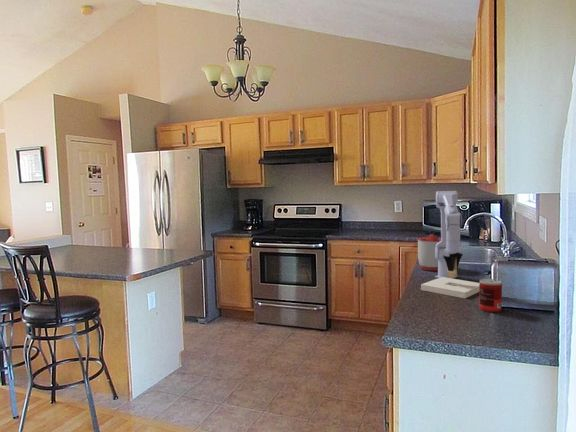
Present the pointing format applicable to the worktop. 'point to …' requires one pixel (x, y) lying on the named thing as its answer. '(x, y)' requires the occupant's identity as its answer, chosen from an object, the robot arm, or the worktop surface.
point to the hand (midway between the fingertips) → (452, 270)
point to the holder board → (451, 287)
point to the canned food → (490, 295)
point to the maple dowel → (454, 272)
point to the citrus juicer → (428, 252)
